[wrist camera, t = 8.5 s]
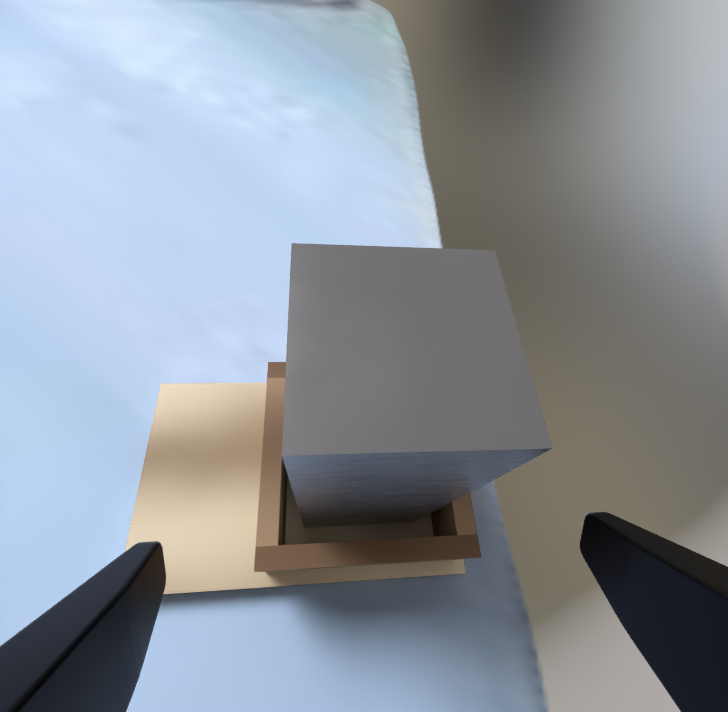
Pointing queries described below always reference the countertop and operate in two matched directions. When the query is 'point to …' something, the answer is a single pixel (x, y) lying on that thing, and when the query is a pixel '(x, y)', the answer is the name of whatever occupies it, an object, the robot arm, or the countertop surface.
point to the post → (401, 382)
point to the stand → (264, 503)
